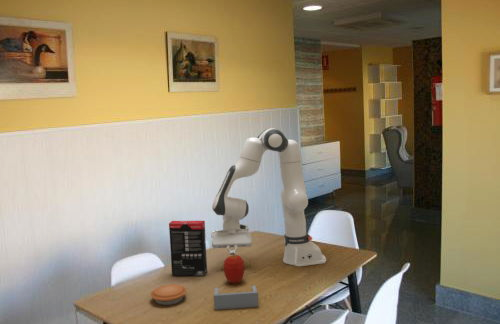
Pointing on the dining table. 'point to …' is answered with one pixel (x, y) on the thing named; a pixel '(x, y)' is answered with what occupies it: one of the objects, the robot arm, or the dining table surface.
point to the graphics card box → (188, 248)
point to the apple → (234, 268)
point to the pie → (168, 294)
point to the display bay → (236, 299)
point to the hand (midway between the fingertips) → (232, 254)
